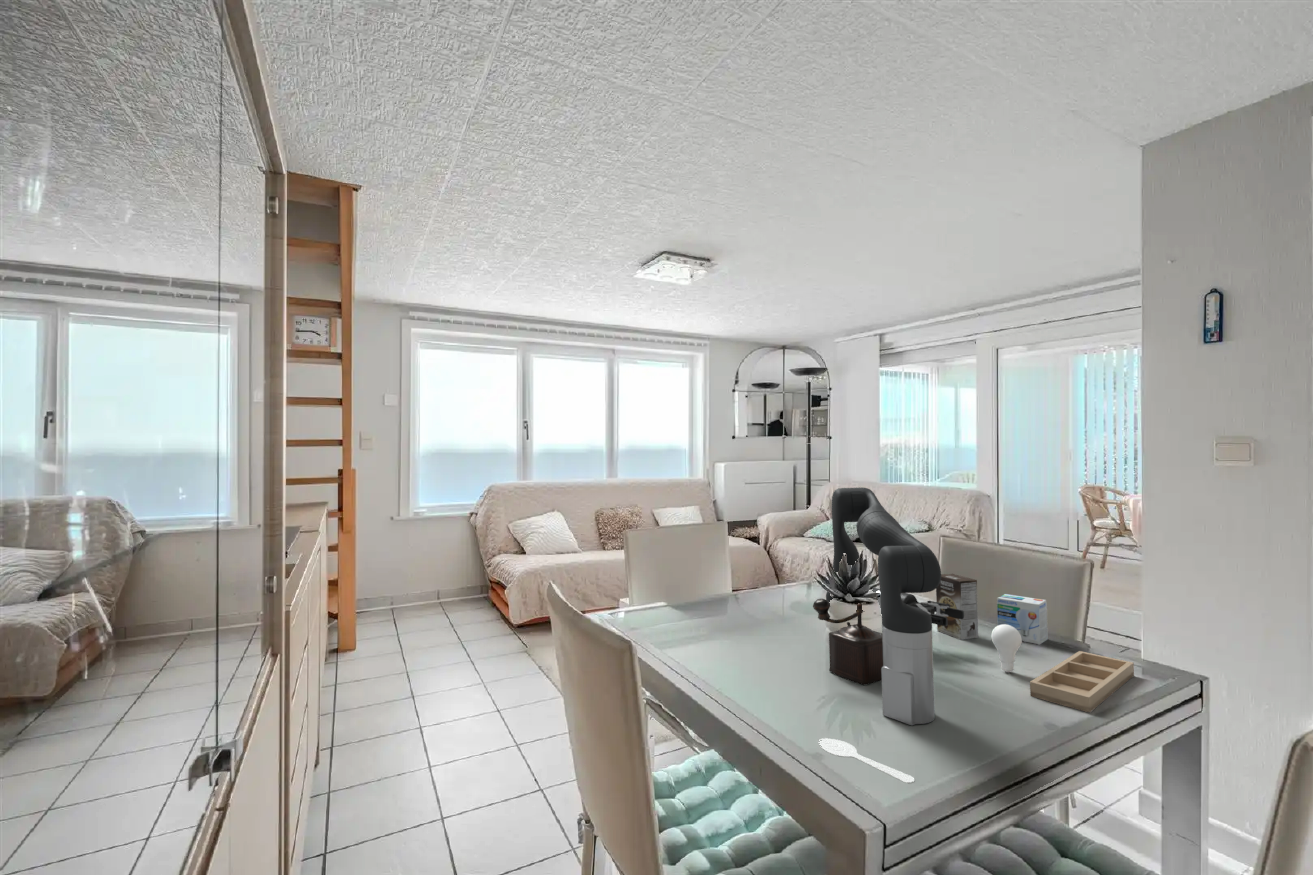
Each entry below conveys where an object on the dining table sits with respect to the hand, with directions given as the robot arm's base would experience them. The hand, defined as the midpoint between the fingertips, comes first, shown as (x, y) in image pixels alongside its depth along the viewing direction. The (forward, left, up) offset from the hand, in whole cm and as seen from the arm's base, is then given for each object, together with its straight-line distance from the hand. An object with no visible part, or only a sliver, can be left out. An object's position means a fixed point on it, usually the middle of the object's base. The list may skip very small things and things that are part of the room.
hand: (955, 618), depth 148 cm
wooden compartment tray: (+4, -26, -10) cm, 28 cm away
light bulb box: (+30, -4, -10) cm, 32 cm away
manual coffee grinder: (-29, +10, -10) cm, 33 cm away
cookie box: (+20, +9, -10) cm, 24 cm away
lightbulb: (0, -12, -10) cm, 16 cm away
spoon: (-60, -13, -11) cm, 62 cm away
